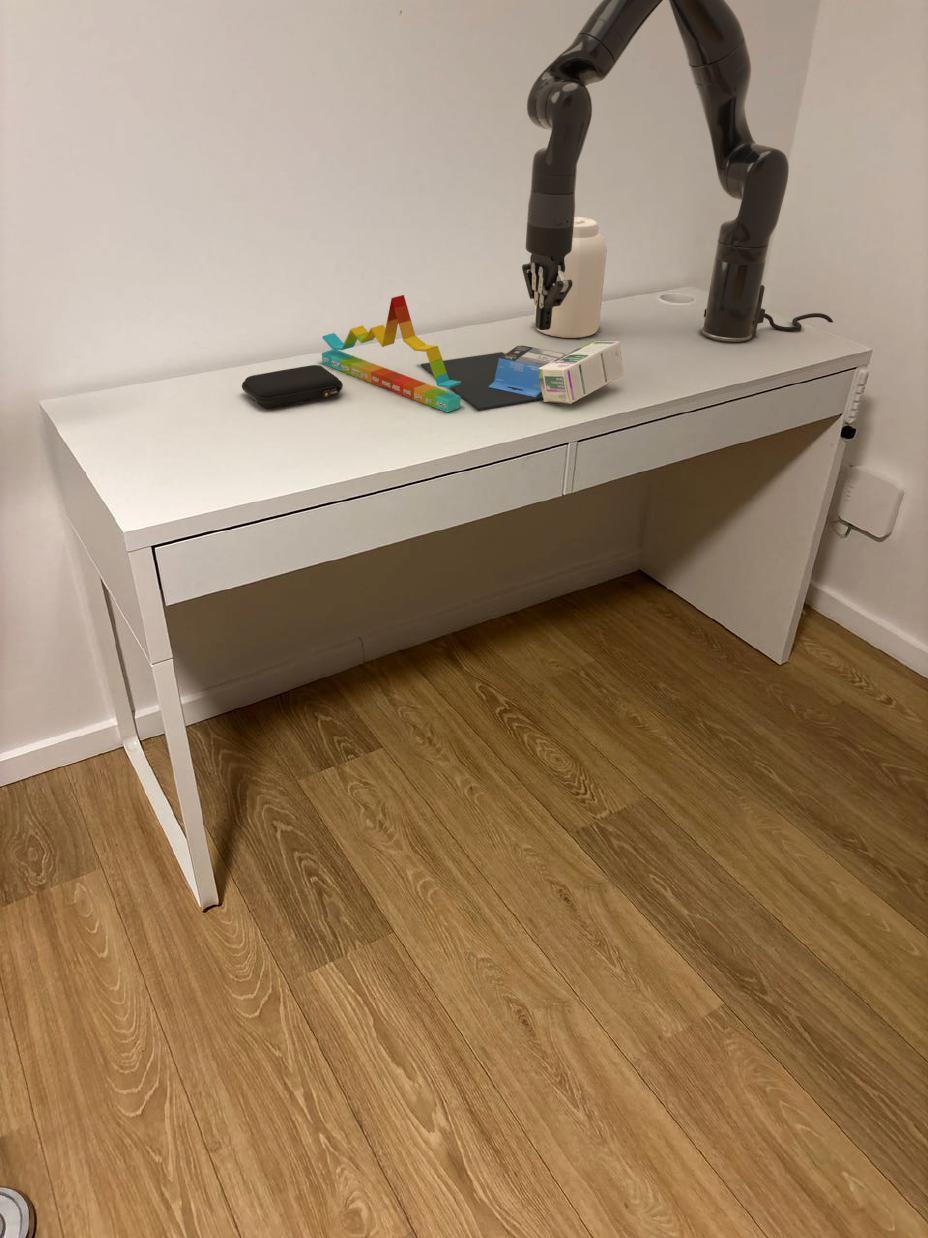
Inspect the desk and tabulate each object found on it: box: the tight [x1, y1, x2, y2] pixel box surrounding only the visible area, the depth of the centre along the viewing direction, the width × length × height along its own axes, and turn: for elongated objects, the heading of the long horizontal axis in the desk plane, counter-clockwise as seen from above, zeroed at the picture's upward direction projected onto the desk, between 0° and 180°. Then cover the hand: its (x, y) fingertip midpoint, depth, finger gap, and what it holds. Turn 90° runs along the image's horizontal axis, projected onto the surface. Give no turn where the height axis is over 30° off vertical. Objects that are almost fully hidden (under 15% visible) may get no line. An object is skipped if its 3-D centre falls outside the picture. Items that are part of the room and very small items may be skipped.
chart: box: [321, 294, 462, 413], centre depth 157 cm, size 30×3×15 cm, turn 47°
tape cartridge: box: [488, 344, 566, 397], centre depth 162 cm, size 9×4×12 cm
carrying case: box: [241, 364, 344, 409], centre depth 155 cm, size 11×3×15 cm
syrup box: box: [538, 340, 625, 405], centre depth 157 cm, size 6×6×14 cm
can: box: [534, 216, 608, 339], centre depth 182 cm, size 12×12×20 cm
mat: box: [420, 351, 544, 411], centre depth 164 cm, size 16×22×1 cm
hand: (542, 328), depth 165 cm, fingers closed
